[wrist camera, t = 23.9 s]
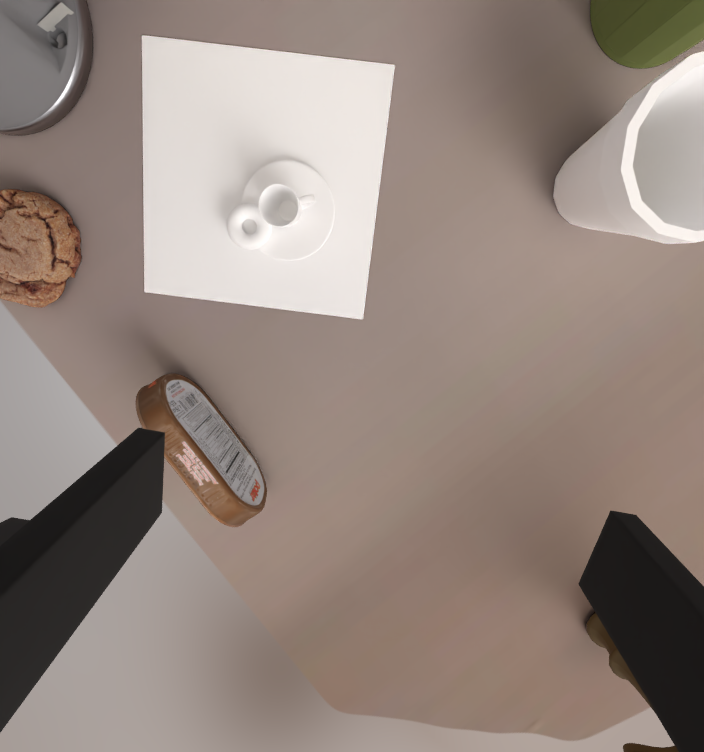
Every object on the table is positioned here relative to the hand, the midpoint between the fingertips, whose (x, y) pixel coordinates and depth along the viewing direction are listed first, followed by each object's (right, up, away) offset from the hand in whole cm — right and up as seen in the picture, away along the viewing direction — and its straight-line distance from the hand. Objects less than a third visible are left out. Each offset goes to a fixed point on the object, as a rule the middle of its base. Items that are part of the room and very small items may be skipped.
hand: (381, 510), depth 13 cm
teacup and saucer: (-9, +20, +24) cm, 32 cm away
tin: (-14, -1, +30) cm, 33 cm away
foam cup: (+19, +19, +23) cm, 35 cm away
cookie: (-30, +15, +26) cm, 43 cm away
